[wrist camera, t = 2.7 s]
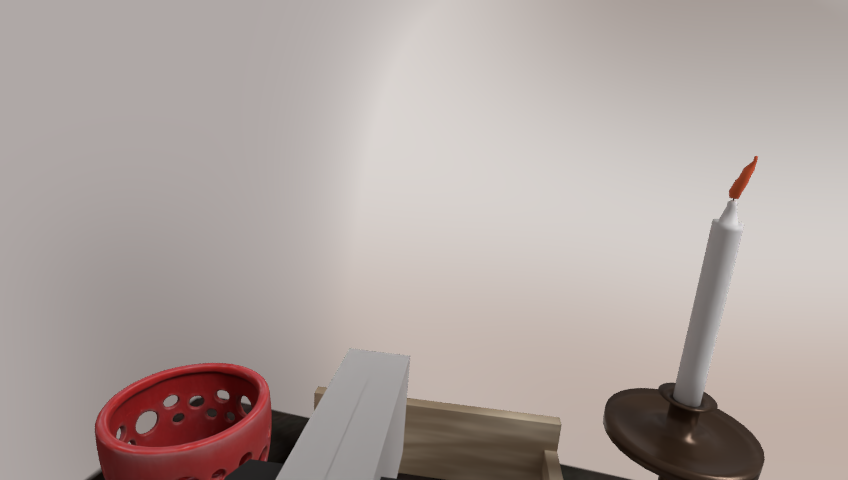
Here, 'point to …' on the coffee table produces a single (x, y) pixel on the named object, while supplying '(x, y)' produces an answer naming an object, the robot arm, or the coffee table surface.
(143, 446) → the plant pot
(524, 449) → the box
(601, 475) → the coffee table surface
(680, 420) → the candlestick
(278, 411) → the coffee table surface
